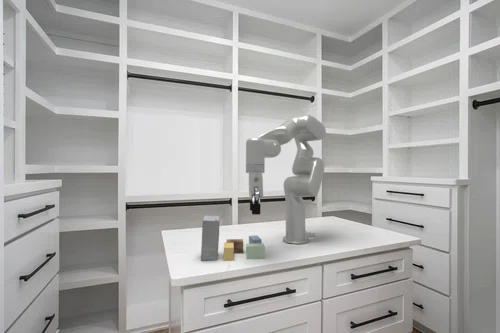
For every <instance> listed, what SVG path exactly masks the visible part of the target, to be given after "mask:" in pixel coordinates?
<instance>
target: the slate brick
mask: <svg viewBox="0 0 500 333" xmlns="http://www.w3.org/2000/svg"><path fill="white" fill-rule="evenodd" d="M262 241H263V240H262V238H261V237H260V236H258V235H257V234H256V235H248V244H257V243H262Z"/></svg>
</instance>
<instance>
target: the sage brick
mask: <svg viewBox="0 0 500 333" xmlns="http://www.w3.org/2000/svg"><path fill="white" fill-rule="evenodd" d="M245 248H246V249H245V257H246V258H245V259H246V260H262V259H263V260H264V259H266V257H265V256H266V255H265V249H266V248H265V244H264V243H257V244H249V243H246V244H245Z"/></svg>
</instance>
